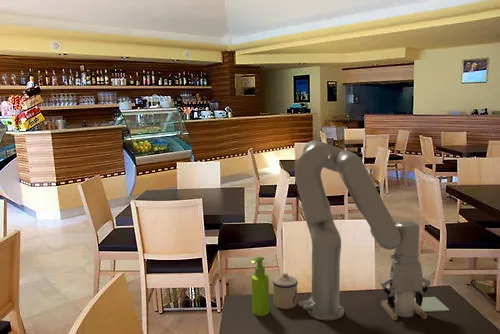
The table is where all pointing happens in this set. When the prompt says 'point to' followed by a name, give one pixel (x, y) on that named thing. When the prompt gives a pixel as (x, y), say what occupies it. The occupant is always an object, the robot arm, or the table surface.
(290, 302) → the teacup with lid
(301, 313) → the table surface
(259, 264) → the soap dispenser
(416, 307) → the oak stall
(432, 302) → the sage tile
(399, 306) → the labeled white canister
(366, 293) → the table surface
